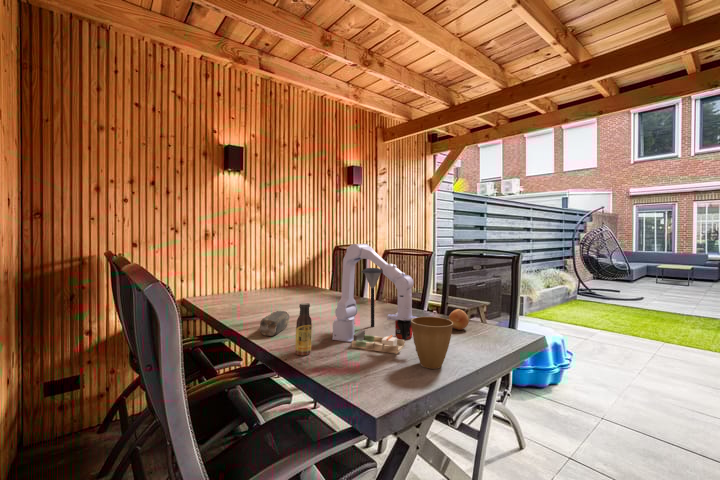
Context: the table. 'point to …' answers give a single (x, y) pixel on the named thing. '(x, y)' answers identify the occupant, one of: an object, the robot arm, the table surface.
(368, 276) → the solar garden light
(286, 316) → the stone block
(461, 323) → the onion
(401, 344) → the track
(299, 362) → the table surface
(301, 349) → the sauce bottle
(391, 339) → the cream gift box
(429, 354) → the plant pot
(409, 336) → the canned food
